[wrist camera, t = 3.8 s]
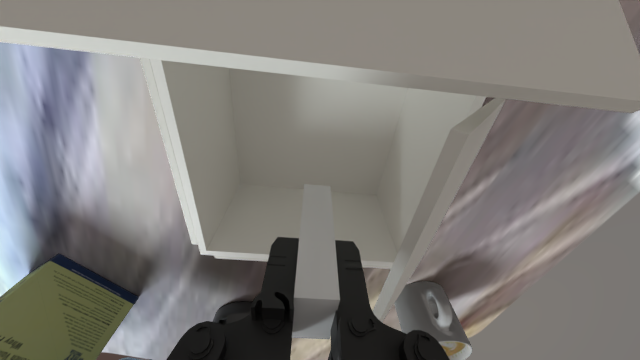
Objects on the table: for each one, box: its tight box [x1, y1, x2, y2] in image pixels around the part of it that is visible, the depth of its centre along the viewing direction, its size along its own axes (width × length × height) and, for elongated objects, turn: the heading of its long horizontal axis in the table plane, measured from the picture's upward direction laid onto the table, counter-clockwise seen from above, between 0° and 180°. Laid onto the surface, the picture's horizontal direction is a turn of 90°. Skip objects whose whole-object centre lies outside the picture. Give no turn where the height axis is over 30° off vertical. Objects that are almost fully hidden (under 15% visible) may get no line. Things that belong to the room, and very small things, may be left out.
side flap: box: [373, 98, 506, 322], centre depth 13 cm, size 13×1×9 cm
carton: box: [140, 58, 486, 269], centre depth 21 cm, size 24×20×12 cm
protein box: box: [0, 254, 139, 360], centre depth 37 cm, size 10×16×16 cm
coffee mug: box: [394, 281, 472, 360], centre depth 41 cm, size 13×10×10 cm
